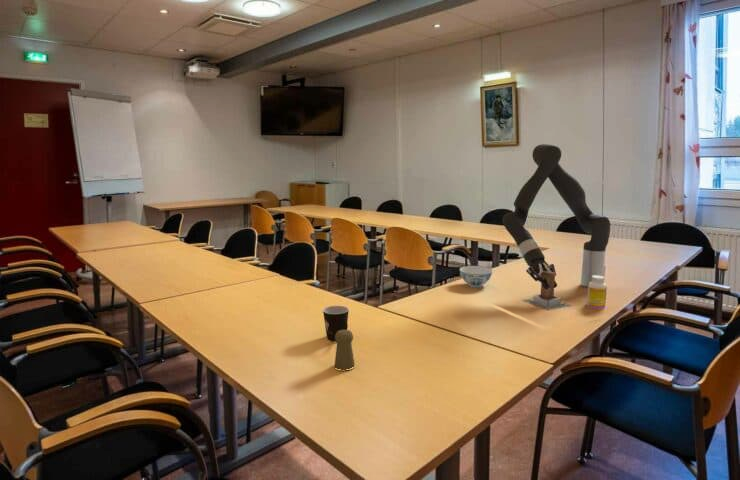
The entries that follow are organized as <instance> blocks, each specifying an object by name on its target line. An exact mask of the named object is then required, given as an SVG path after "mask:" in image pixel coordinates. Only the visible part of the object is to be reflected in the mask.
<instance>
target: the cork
mask: <svg viewBox="0 0 740 480" xmlns="http://www.w3.org/2000/svg"><path fill="white" fill-rule="evenodd" d="M353 339H354V335H353V332H352V331H351V330H348V329H347V330H340V331H338V332H337V333H336V334H335V340H336V342H335V343H336V348H335V349H336V350H335V357H334V366H335V368H337V369H341V370H346V369H350V368H352V367H354V365H355V366H356V364H355V357H354V352H353V344H352V342H353ZM335 368H334V369H335Z"/></svg>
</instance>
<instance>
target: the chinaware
mask: <svg viewBox="0 0 740 480" xmlns="http://www.w3.org/2000/svg"><path fill="white" fill-rule="evenodd" d="M459 273H460V276H461V278H462V280H463V281H464V282H465V283H466V284H468V287H470V288H475V289H476V288H482V287H483V286H484V285H485V284H486V283H487V282H489V280H490V279H491V277H492V274H493V269H492V268H490V267H486V266H480V265H469V266H467V265H466V266H463V267H460V268H459Z"/></svg>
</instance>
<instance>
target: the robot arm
mask: <svg viewBox="0 0 740 480" xmlns="http://www.w3.org/2000/svg"><path fill="white" fill-rule="evenodd" d="M561 158H562V150H561V148H560V147H559V146H557V145H556V144H546V143H545V144H544V143H542V144H539V145H536V146H535V147H534V149H533V150H532V159H533V161H534V163H535V164H536V165H537V168H536V170H535V172H534V173H533V175H532V176H531V177H530V178H529V179H528V180H527V181H526V182H525V183H524V184H523V186H522V187H521V188H520V190H519V192H518V194H517V196H516V198H515V199H514V202H513V206H514V211H513V212H509V211H508V212H506V213H504V214H503V217H502V224H503V226H504V228H505V229H506V231H507V232H508V233H509V235H510V236H511V238H513V241H514V242H515V244H516V245H517V247H518V250H519V252H520V254H521V256H522V257H523V260H524V261H525V263H526V265H527V266H529V267H528V268H527V269H526V270H525V271H526V273H527V274H528V275H529V276H530V277H531V278H532V279H533V280H534V281H535V282H540V285H541V284H542V286H543V287H544V288H545V289H548V288H549V287H550V286H549V284H548V283H547V281H546V279H545V278H544V275H543V271H551V272H555V277H556V276H557V272H556V269H555V268H556V267H555V265H554V264H555V263H551V264H549V263H548V262H546V259H545V255H544V253H543V252H542V250H541V248H540V246H539V245H538V244H537V242H536V241H535V239H534V238H533V236H532V235H531V232H530V231H529V230H528V229H526V228H525V224H526V222H527V219H528V216H529V211H530V208H531V206H532V205H533V203H534V200H535V199H536V197H537V195H538V193H539V192H540V189H541V188H542V186H543V185H544V184H545V182H546V180H547V179H548V180H549V181H550V183H551V184H552V185H553V187H554V188H555V190H556V191H557V193H558V194H559V195H560V197H561V199H562V200H563V201H564V202H565V204H566V205H567V206H568V208H569V209H570V210H571V212H572V213H573V215H574V216H575V218H576V220H577V222H578V224H579V226H580V228H581V229H582V230H583V232H585V233H587V234H589V235H591V236H590V240H589V241H586V242H584V244H583V249H582V250H583V251H582V264H581V277H580V285H581V286H582V287H586V288H588V284H589V283H590V282H592V279H591V278H592V276H593V275H598V276H603V277H605V276H606V265H605V264H606V263H605V261H606V249H607V246H608V245H609V239H610V233H611V222H610V219H609V217H607V216H605V215H600V214H595V213H593V212H592V210H591V209H590V208H589V206H588V204H587V200H586V199H587V198H586V192H585V190H584V188H583V187H582V185H581V184H580V182H579V181H578V180H577V179H576V178H575V177H574V176H573V175H572V173H569V171H567V170H566V169H565V168H564V167H562V165H560V163H559V162H560V161H561ZM605 278H606V277H605ZM557 287H558V283H557V282H556V280H555V283H554V289H555V288H557Z"/></svg>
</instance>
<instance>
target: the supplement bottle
mask: <svg viewBox="0 0 740 480" xmlns="http://www.w3.org/2000/svg"><path fill="white" fill-rule="evenodd" d="M605 278H606V277H603V276H598V275H593V276H592V278H591V279H592V282H590V283H589V284H588V287H587V299H586V306H588V307H590V308H593V309H603V308H606V301H607V289H608V286H607V284H606V283H605V280H606V279H605Z"/></svg>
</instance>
